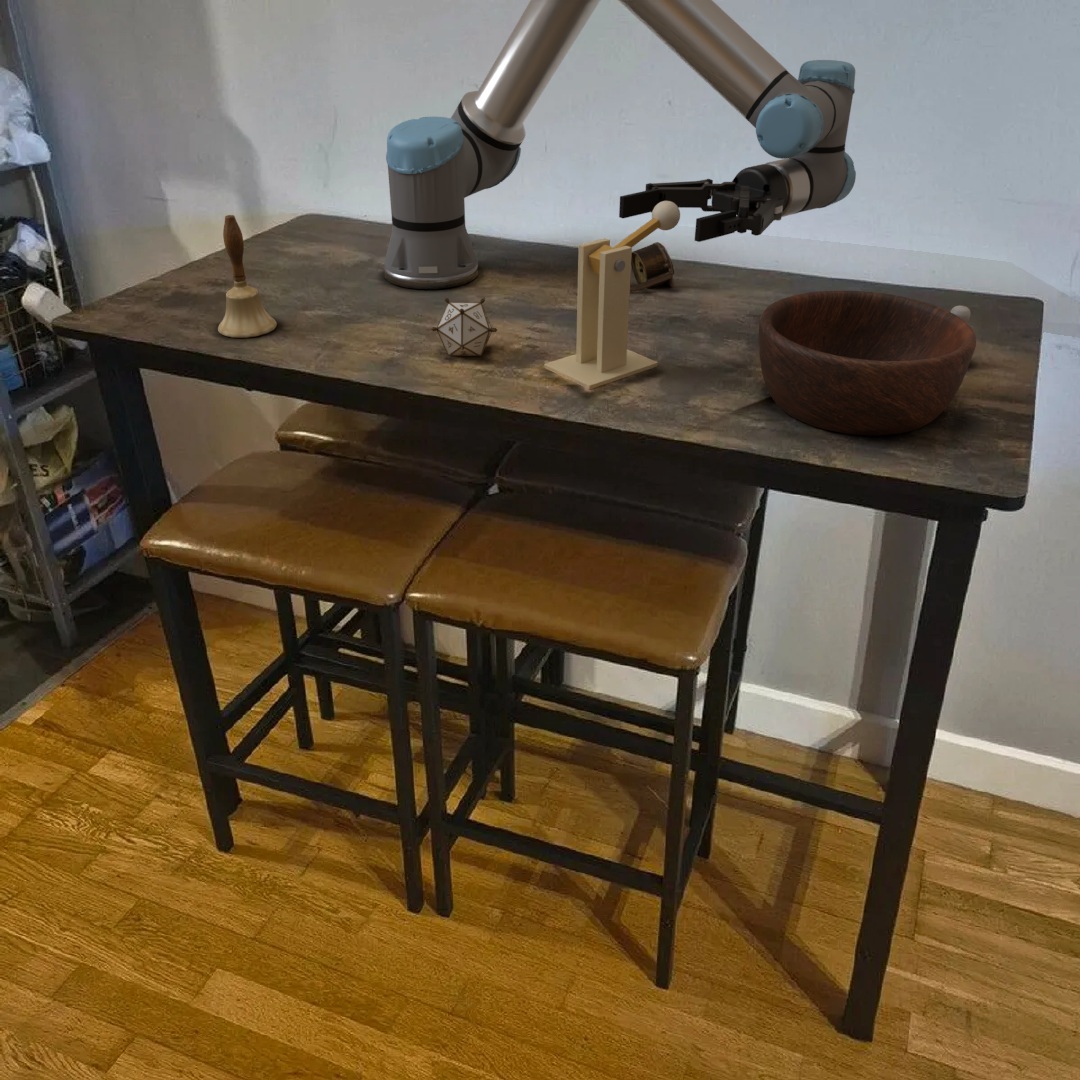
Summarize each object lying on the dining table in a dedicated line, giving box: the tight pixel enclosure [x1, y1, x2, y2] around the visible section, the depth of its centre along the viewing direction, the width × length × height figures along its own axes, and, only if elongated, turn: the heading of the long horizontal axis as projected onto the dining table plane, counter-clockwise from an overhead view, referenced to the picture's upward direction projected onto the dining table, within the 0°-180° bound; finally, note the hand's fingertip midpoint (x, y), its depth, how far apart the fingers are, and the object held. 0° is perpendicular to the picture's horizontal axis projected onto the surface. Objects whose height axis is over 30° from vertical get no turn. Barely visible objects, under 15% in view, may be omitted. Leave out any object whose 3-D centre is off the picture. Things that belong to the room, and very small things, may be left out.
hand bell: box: [217, 214, 278, 339], centre depth 149 cm, size 8×8×16 cm
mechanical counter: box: [630, 241, 675, 293], centre depth 166 cm, size 7×13×10 cm
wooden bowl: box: [758, 289, 977, 437], centre depth 129 cm, size 25×25×10 cm
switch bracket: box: [543, 238, 659, 391], centre depth 135 cm, size 12×9×17 cm
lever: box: [589, 201, 681, 274], centre depth 133 cm, size 14×4×4 cm, turn 129°
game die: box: [430, 296, 498, 357], centre depth 142 cm, size 9×8×10 cm
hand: (658, 218), depth 134 cm, fingers open, 13 cm apart
